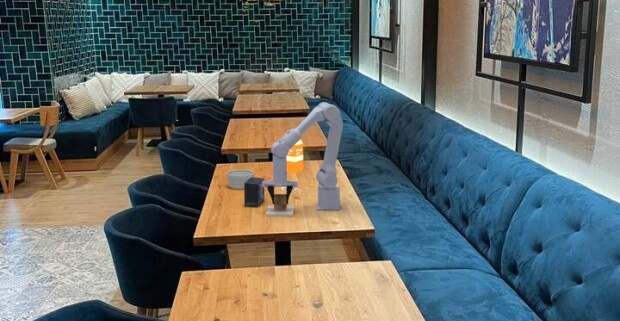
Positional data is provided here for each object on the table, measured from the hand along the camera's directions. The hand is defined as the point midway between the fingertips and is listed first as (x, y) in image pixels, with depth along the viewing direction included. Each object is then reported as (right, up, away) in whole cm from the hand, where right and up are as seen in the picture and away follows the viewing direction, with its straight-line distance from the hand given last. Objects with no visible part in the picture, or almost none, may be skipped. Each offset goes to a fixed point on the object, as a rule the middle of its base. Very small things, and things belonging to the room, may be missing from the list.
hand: (280, 203), depth 243 cm
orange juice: (+3, +12, +72) cm, 73 cm away
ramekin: (-21, +5, +40) cm, 46 cm away
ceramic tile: (0, -4, +1) cm, 4 cm away
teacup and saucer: (+5, +4, +36) cm, 36 cm away
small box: (-12, -1, +13) cm, 17 cm away
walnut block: (0, -2, 0) cm, 2 cm away
